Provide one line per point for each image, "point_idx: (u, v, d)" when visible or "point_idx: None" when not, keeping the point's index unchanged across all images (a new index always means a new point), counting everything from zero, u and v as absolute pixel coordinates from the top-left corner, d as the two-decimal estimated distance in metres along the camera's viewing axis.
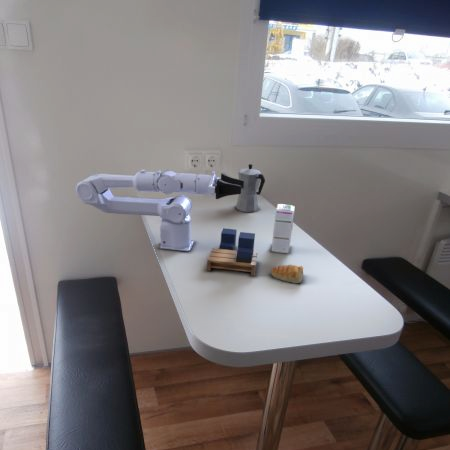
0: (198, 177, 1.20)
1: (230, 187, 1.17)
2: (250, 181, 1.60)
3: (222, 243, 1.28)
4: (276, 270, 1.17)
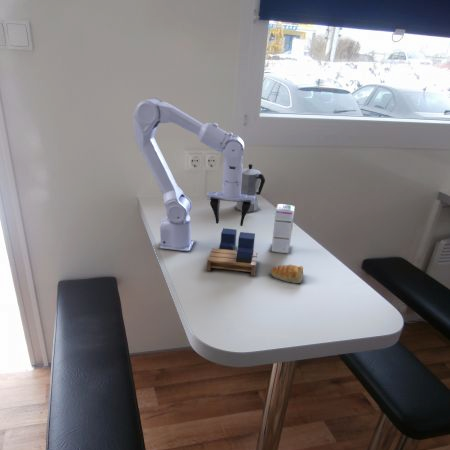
0: None
1: None
2: (250, 181, 1.60)
3: (222, 243, 1.28)
4: (276, 270, 1.17)
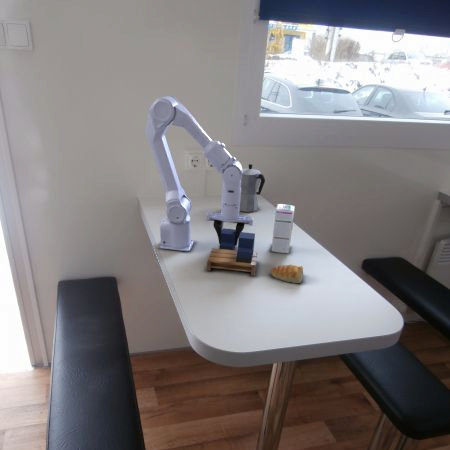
0: None
1: None
2: (250, 181, 1.60)
3: (222, 243, 1.28)
4: (276, 270, 1.17)
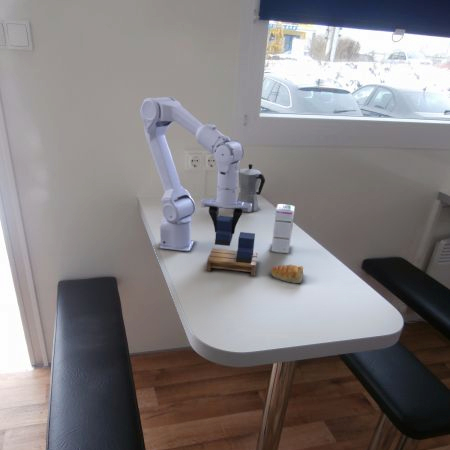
0: None
1: None
2: (250, 181, 1.60)
3: (218, 231, 1.18)
4: (276, 270, 1.17)
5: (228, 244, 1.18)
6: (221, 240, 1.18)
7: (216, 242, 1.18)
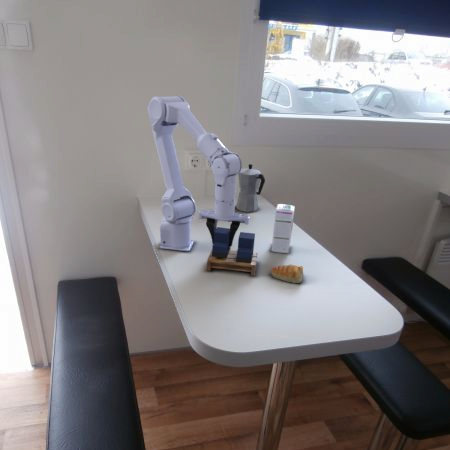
0: None
1: None
2: (250, 181, 1.60)
3: (215, 243, 1.17)
4: (276, 270, 1.17)
5: (225, 256, 1.17)
6: (218, 252, 1.17)
7: (213, 254, 1.17)
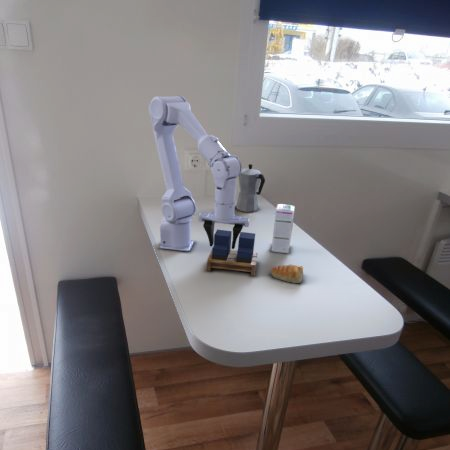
0: None
1: None
2: (250, 181, 1.60)
3: (215, 245, 1.18)
4: (276, 270, 1.17)
5: (225, 259, 1.17)
6: (218, 255, 1.17)
7: (213, 257, 1.18)
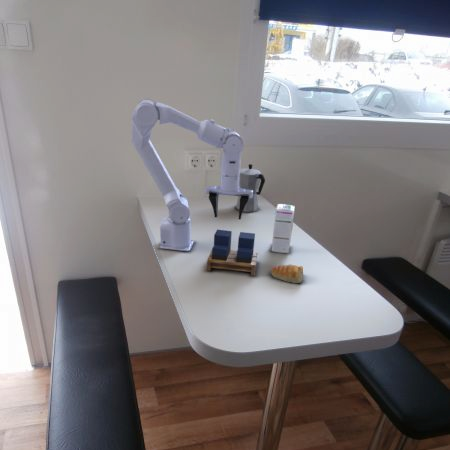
0: None
1: None
2: (250, 181, 1.60)
3: (215, 245, 1.18)
4: (276, 270, 1.17)
5: (225, 259, 1.17)
6: (218, 255, 1.17)
7: (213, 257, 1.18)
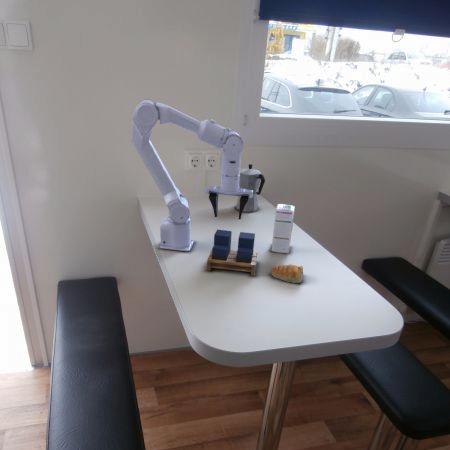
0: None
1: None
2: (250, 181, 1.60)
3: (215, 245, 1.18)
4: (276, 270, 1.17)
5: (225, 259, 1.17)
6: (218, 255, 1.17)
7: (213, 257, 1.18)
